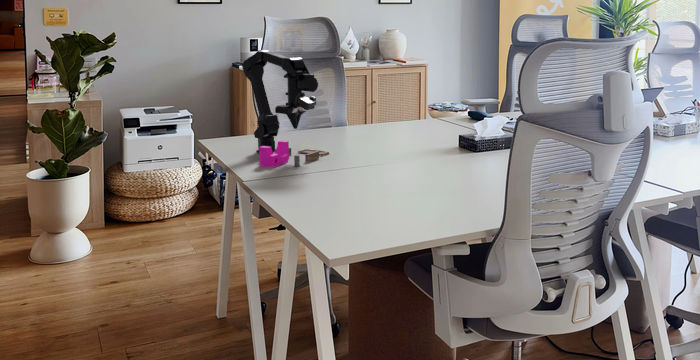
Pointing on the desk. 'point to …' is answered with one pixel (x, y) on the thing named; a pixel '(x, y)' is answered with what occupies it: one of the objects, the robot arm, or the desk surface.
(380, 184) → the desk surface
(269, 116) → the robot arm
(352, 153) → the desk surface
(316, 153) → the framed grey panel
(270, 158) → the magenta curved bracket
